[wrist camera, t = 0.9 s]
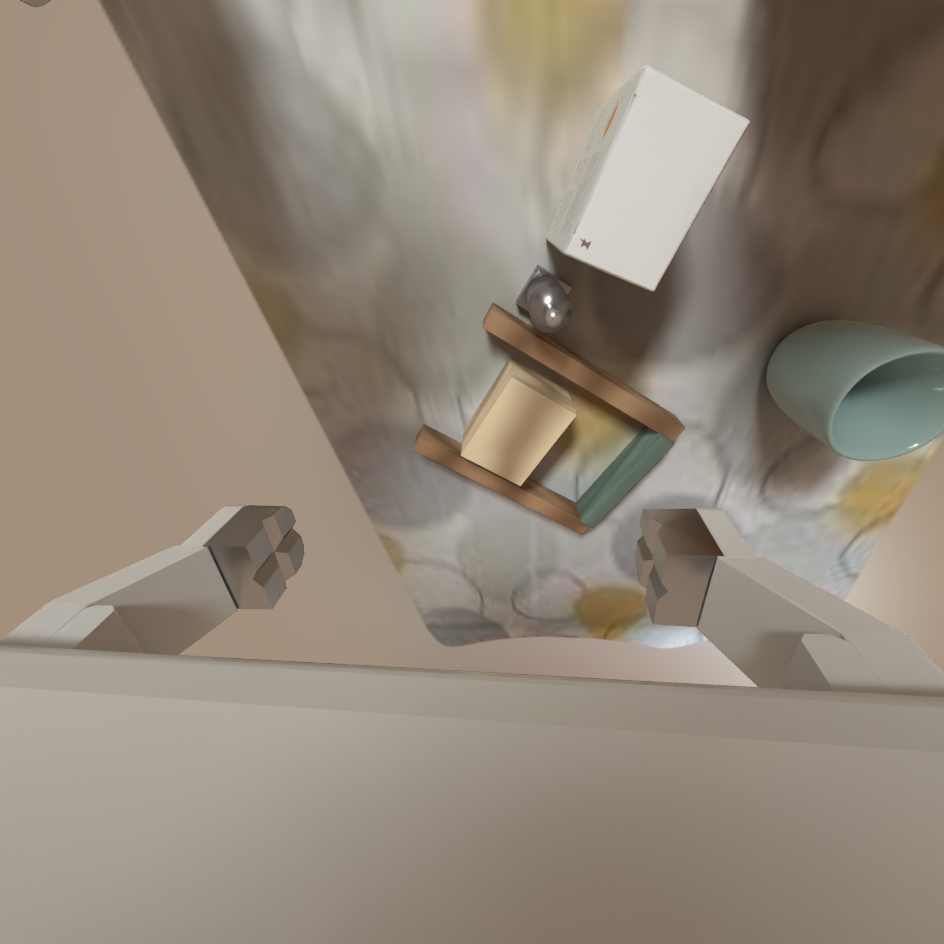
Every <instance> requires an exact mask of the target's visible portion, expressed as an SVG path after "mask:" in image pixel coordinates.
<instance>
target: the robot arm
mask: <svg viewBox="0 0 944 944" xmlns="http://www.w3.org/2000/svg"><path fill="white" fill-rule="evenodd" d="M21 1H23V2H24V3H26V4H28V5H30V6H33V7H40V6H43V5H45V4H46V3H48V2H49V1H50V0H21ZM295 522H296V520H295V518H294V515H293V512H292V510H291V509H289V508H287V507H285V506H251V505H249V506H246V505H230V506H225V507H222V508H221V509H220V510H219V511H218V512H217V513H216V514H215V515H214V516H213V517H211V518H210V519H209V520H208V521H207V522H206V523H205V524H204V525H203V526H202V527H200V528H199V529H198V530H197V531H196V532H195V533H194V534H193V535H192V536H191V537H190V538H188V539H187V540H186V541H185V542H184V543H183V544H182V545H181V546H173V547H171V548H168V549H166V550H164V551H162V552H160V553H157V554H155V555H153V556H151V557H148V558H146V559H144V560H142V561H139V562H137V563H135V564H133V565H131V566H128V567H126V568H124V569H122V570H119V571H117V572H115V573H113V574H110V575H109V576H106V577H104V578H101V579H99V580H97V581H95V582H92V583H90V584H88V585H86V586H84V587H81V588H79V589H77V590H75V591H72V592H70V593H68V594H66V595H64V596H61V597H59V598H57V599H54V600H52V601H50V602H49V603H48V604H46V605H45V606H44V607H43V608H41V609H40V610H39V611H37V612H36V613H35V614H33V615H32V616H31V617H30V618H28V619H27V620H26V621H25V622H23V623H22V624H21V625H19V627H17V628H16V629H14V630H13V631H12V632H11V633H9V634H8V635H7V636H5V637H4V638H3V639H2V640H0V944H944V673H942V671H941V670H940V669H939V668H938V667H937V666H936V665H935V664H934V663H933V662H932V661H931V660H930V658H929V657H928V656H927V655H926V654H925V653H924V652H923V651H922V650H921V649H920V648H919V647H918V645H917V644H916V643H915V642H914V641H913V640H912V639H911V638H910V637H909V636H908V635H905V634H904V633H902V632H900V631H898V630H897V629H895V628H893V627H891V626H889V625H887V624H885V623H884V622H882V621H880V620H878V619H876V618H874V617H873V616H871V615H869V614H867V613H865V612H863V611H861V610H860V609H858V608H856V607H854V606H852V605H851V604H849V603H847V602H845V601H843V600H841V599H840V598H838V597H836V596H834V595H832V594H830V593H829V592H827V591H825V590H823V589H821V588H819V587H817V586H816V585H814V584H812V583H810V582H808V581H806V580H805V579H803V578H801V577H799V576H797V575H795V574H794V573H792V572H790V571H788V570H786V569H784V568H783V567H781V566H779V565H777V564H775V563H773V562H772V561H770V560H768V559H766V558H763V557H755V555H754V554H753V552H752V551H751V550H750V548H749V547H748V545H747V544H746V543H745V541H744V540H743V538H742V537H741V536H740V534H739V533H738V531H737V530H736V529H735V527H734V526H733V524H732V523H731V521H730V520H729V519H728V517H727V516H726V514H725V513H724V512H723V510H721V509H719V508H692V509H643V511H642V514H641V518H640V524H639V525H640V528H641V531H642V533H643V536H642V537H641V538H640V539H639V540H638V541H637V544H636V552H635V559H636V570H637V575H638V579H639V582H640V584H641V585H642V586H644V587H645V588H646V589H647V590H646V596H645V601H646V604H647V607H648V610H649V613H650V616H651V619H652V622H653V624H658V625H674V626H689V627H698V628H697V629H698V630H699V631H700V632H701V633H702V634H703V635H704V636H705V637H706V638H707V639H708V640H709V641H711V642H712V643H713V644H714V645H715V646H716V647H717V648H718V649H719V650H720V651H721V652H722V653H723V654H725V656H726V657H727V658H728V659H729V660H731V661H732V662H733V663H734V664H735V665H736V666H737V667H738V668H739V669H740V670H741V671H742V672H743V673H744V674H745V675H746V676H747V677H748V678H750V679H751V680H752V681H753V682H754V683H755V684H756V685H757V686H758V687H745V686H727V685H709V684H708V685H707V684H691V683H671V682H652V681H634V680H633V681H632V680H615V679H597V678H580V677H562V676H546V675H528V674H510V673H493V672H476V671H459V670H440V669H423V668H404V667H385V666H368V665H350V664H349V665H348V664H331V663H312V662H294V661H277V660H259V659H241V658H223V657H204V656H186V655H179V654H180V653H181V652H183V651H184V650H185V649H187V648H188V647H189V646H191V645H192V644H194V643H195V642H196V641H197V640H199V639H200V638H202V637H203V636H204V635H206V634H207V633H208V632H210V631H211V630H212V629H214V628H215V627H216V626H218V625H219V624H220V623H221V622H223V621H224V620H226V619H227V618H228V617H230V616H231V615H232V614H234V613H235V612H236V611H237V609H273V607H274V606H275V604H276V603H277V601H278V600H279V598H280V597H281V595H282V594H283V592H284V591H285V589H286V588H287V587H286V583H285V580H287V579H289V578H290V577H292V576H293V575H295V574H296V573H297V571H298V570H299V568H300V566H301V564H302V560H303V556H304V545H303V541H302V538H301V536H300V535H299V534H298V533H297V532H296V531H294V529H292V528H293V526H294V524H295Z"/></svg>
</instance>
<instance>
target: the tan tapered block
mask: <svg viewBox="0 0 944 944" xmlns="http://www.w3.org/2000/svg"><path fill="white" fill-rule="evenodd" d="M576 415H577V414H576V412H575V409H574V406H573V403H572V400H571V398H570V395H569V392H568V391H567V390H566V389H564V388H562V387H560V386H559V385H557V384H555V383H554V382H552V381H550V380H549V379H547V378H545V377H544V376H542V375H540V374H538V373H537V372H535V371H533V370H532V369H530V368H528V367H527V366H525V365H523V364H521V363H520V362H518V361H516V360H515V359H513V358H511V357H510V358H509V360H508V361H507V363H506V364H505V366H504V367H503V369H502V371H501V372H500V374H499V375H498V377H497V379H496V380H495V382H494V383H493V385H492V386H491V388H490V390H489V391H488V393H487V394H486V396H485V397H484V399H483V401H482V402H481V404H480V405H479V407H478V409H477V410H476V412H475V413H474V415H473V416H472V418H471V420H470V421H469V423H468V424H467V426H466V427H465V429H464V436H463V443H462V450H461V456H462V457H464V458H466V459H468V460H470V461H472V462H474V463H476V464H478V465H480V466H482V467H484V468H486V469H488V470H490V471H492V472H494V473H496V474H498V475H500V476H501V477H503V478H505V479H507V480H509V481H511V482H513V483H515V484H517V485H519V486H521V485H522V484H523V482H524V481H525V480H526V479H527V477H528V476H529V475H530V474H531V472H532V471H533V470H534V469H535V467H536V466H537V465H538V463H539V462H540V461H541V460H542V458H543V457H544V456H545V455H546V453H547V452H548V451H549V449H550V448H551V447H552V446H553V444H554V443H555V442H556V441H557V439H558V438H559V437H560V435H561V434H562V433H563V432H564V430H565V429H566V428H567V427H568V425H569V424H570V423H571V421H572V420H573V419H574V418H575V416H576Z"/></svg>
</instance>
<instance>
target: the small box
mask: <svg viewBox="0 0 944 944" xmlns="http://www.w3.org/2000/svg"><path fill="white" fill-rule="evenodd" d="M749 124H750V121H749V120H748V119H746V118H745V117H743V116H741V115H739V114H737V113H735V112H734V111H732V110H730V109H728V108H726V107H725V106H723V105H721V104H719V103H717V102H715V101H714V100H712V99H710V98H708V97H706V96H704V95H703V94H701V93H699V92H697V91H695V90H693V89H691V88H690V87H688V86H686V85H684V84H682V83H680V82H679V81H677V80H675V79H673V78H671V77H669V76H667V75H666V74H664V73H662V72H660V71H658V70H656V69H654V68H653V67H651V66H649V65H646V66H644V67H643V68H642V69H641V70H640V71H639V72H638V73H636V74H635V75H634V76H633V77H632V78H631V79H630V80H629V81H628V82H627V83H626V84H624V85H623V86H622V87H621V88H620V89H619V90H618V91H617V92H616V93H615V94H614V95H613V96H612V97H610V98H609V99H608V100H607V101H606V102H605V103H604V104H603V105H602V106H601V107H599V109H598V110H597V113H596V116H595V118H594V121H593V123H592V126H591V128H590V131H589V133H588V136H587V138H586V141H585V143H584V145H583V148H582V150H581V153H580V155H579V158H578V160H577V163H576V165H575V168H574V170H573V173H572V175H571V177H570V180H569V182H568V185H567V187H566V190H565V192H564V195H563V197H562V200H561V202H560V205H559V207H558V210H557V212H556V214H555V217H554V219H553V222H552V224H551V227H550V229H549V231H548V234H547V236H546V240H547V241H548V242H550V243H551V244H552V245H554V246H555V247H556V248H557V249H558V250H559V251H560V252H562V253H563V254H564V255H566V256H569V257H571V258H573V259H576V260H578V261H580V262H582V263H585V264H587V265H589V266H591V267H594V268H596V269H598V270H600V271H603V272H605V273H608V274H610V275H612V276H615V277H617V278H620V279H622V280H624V281H627V282H629V283H632V284H634V285H637V286H639V287H641V288H644V289H646V290H649V291H655V290H656V288H657V286H658V284H659V282H660V281H661V279H662V277H663V275H664V274H665V272H666V270H667V268H668V267H669V265H670V263H671V261H672V259H673V258H674V256H675V254H676V252H677V251H678V249H679V247H680V245H681V244H682V242H683V240H684V238H685V236H686V235H687V233H688V231H689V229H690V227H691V226H692V224H693V222H694V220H695V219H696V217H697V215H698V213H699V212H700V210H701V208H702V206H703V205H704V203H705V201H706V199H707V197H708V196H709V194H710V192H711V190H712V189H713V187H714V185H715V183H716V181H717V180H718V178H719V176H720V174H721V173H722V171H723V169H724V168H725V166H726V164H727V162H728V161H729V159H730V157H731V155H732V153H733V152H734V150H735V148H736V146H737V145H738V143H739V141H740V139H741V138H742V136H743V134H744V132H745V131H746V129H747V127H748V126H749Z"/></svg>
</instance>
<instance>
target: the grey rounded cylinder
mask: <svg viewBox="0 0 944 944" xmlns="http://www.w3.org/2000/svg"><path fill="white" fill-rule="evenodd" d="M571 290H572V288H571V287H570V286H569V285H568V284H566V283H565V282H563V281H562V280H560V279H559V278H557V277H556V276H554V275H553V274H551V273H550V272H548V271H547V270H545V269H543V268H542V267H540V266H539V265H537V267H536V268H535V270H534V272H533V273H532V275H531V277H530V279H529V280H528V282H527V284H526V285H525V287H524V289H523V290H522V292H521V294H520V295H519V297H518V299H517V300H516V304H517V305H519V306H521V307H522V308H524V309H525V310H527V311H528V312H529V316H530V320H531V322H532V324H533V326H534V327H535V328H536V329H537V330H539V331H541V332H543V333H555V332H558V331H560V330H561V329H563V328H564V327H565V326H566V325H567V324H568V322H569V321H570V318H571V316H572V303H571V300H570V298H569V297H568V294H569V293H570V291H571Z"/></svg>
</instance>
